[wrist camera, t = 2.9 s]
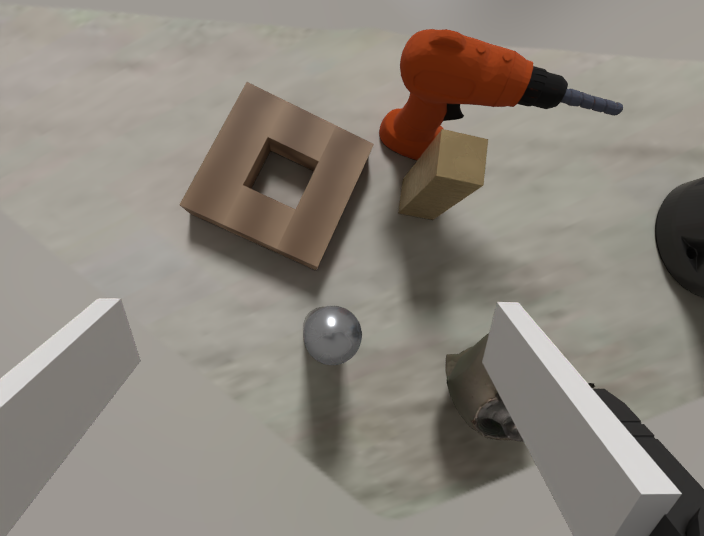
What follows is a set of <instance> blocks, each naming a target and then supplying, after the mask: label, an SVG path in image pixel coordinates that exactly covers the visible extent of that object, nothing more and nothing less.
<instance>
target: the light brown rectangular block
mask: <svg viewBox="0 0 704 536" xmlns="http://www.w3.org/2000/svg"><path fill="white" fill-rule="evenodd" d="M487 145H488V139H484V138H480V137H475V136H471V135H466V134H462V133H457V132H453V131H449V130H444V129H442V130H441V131H440V132H439V133H438V135H437V136H436V137H435V139H434V140H433V141H432V142H431V144H430V145H429V146H428V148H427V149H426V150H425V151H424V153H423V154H422V155H421V157H420V158H419V159H418V160H417V162H416V163H415V164H414V166H413V167H412V168H411V169H410V171H409V172H408V173H407V175H406V176H405V177H404V178H403V182H402V190H401V197H400V204H399V212H398V213H399V214H404V215H409V216H415V217H420V218H425V219H430V220H433V219H435V218H436V217H438V216H439V215H441V214H442V213H444V212H445V211H447V210H448V209H449V208H451V207H452V206H454V205H455V204H457V203H458V202H460V201H461V200H463V199H464V198H466V197H467V196H469V195H470V194H472V193H473V192H474V191H476V190H477V189H479V188H480V187H482V186H483V184H484V174H485V164H486V154H487Z"/></svg>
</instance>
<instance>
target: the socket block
mask: <svg viewBox="0 0 704 536" xmlns="http://www.w3.org/2000/svg"><path fill="white" fill-rule="evenodd" d="M373 145H374V144H372V143H370V142H368V141H366V140H364V139H362V138H360V137H358V136H356V135H354V134H352V133H350V132H348V131H346V130H344V129H342V128H340V127H338V126H336V125H334V124H332V123H330V122H328V121H326V120H324V119H322V118H319V117H317V116H315V115H313V114H311V113H309V112H307V111H305V110H303V109H301V108H299V107H297V106H295V105H293V104H291V103H289V102H287V101H285V100H283V99H281V98H279V97H277V96H275V95H273V94H271V93H269V92H266V91H264V90H262V89H260V88H258V87H256V86H254V85H252V84H250V83H248V82H247V83H246V84H245V86H244V88H243V90H242V92H241V93H240V95H239V97H238V99H237V101H236V103H235V104H234V106H233V108H232V110H231V112H230V114H229V115H228V117H227V119H226V121H225V123H224V124H223V126H222V128H221V130H220V132H219V134H218V135H217V137H216V139H215V141H214V143H213V145H212V146H211V148H210V150H209V152H208V154H207V155H206V157H205V159H204V161H203V163H202V165H201V166H200V168H199V170H198V172H197V174H196V176H195V177H194V179H193V181H192V183H191V185H190V186H189V188H188V190H187V192H186V194H185V196H184V197H183V199H182V201H181V203H180V206H181V207H183V208H184V209H185V210H186V211H187V212H189V213H190V214H192V215H194V216H196V217H198V218H201V219H203V220H205V221H207V222H210V223H212V224H214V225H216V226H218V227H221V228H223V229H225V230H227V231H230V232H232V233H234V234H236V235H238V236H241V237H243V238H245V239H247V240H250V241H252V242H254V243H256V244H258V245H261V246H263V247H265V248H267V249H269V250H272V251H274V252H276V253H278V254H281V255H283V256H285V257H287V258H289V259H292V260H294V261H296V262H298V263H301V264H303V265H305V266H307V267H309V268H312V269H314V270H317V268H318V266H319V264H320V261H321V259H322V257H323V255H324V253H325V251H326V248H327V246H328V244H329V242H330V240H331V237H332V235H333V233H334V231H335V229H336V226H337V224H338V222H339V220H340V218H341V216H342V213H343V211H344V209H345V207H346V205H347V202H348V200H349V198H350V196H351V194H352V191H353V189H354V187H355V185H356V183H357V181H358V178H359V176H360V174H361V172H362V170H363V167H364V165H365V163H366V161H367V159H368V156H369V154H370V152H371V150H372V147H373ZM270 151H273V152H275V153H277V154H279V155H281V156H283V157H285V158H287V159H289V160H291V161H294V162H296V163H298V164H300V165H302V166H304V167H306V168H308V169H310V170H312V171H314V173H313V175H312V177H311V179H310V181H309V183H308V185H307V187H306V189H305V191H304V193H303V195H302V197H301V199H300V202H299V204H298V206H297V208H296V210H295V209H293V208H291V207H289V206H287V205H285V204H282V203H280V202H278V201H276V200H274V199H272V198H270V197H267V196H265V195H263V194H261V193H259V192H257V191H254V190H252V189H251V188H252V186H253V184H254V182H255V180H256V178H257V176H258V174H259V172H260V170H261V168H262V166H263V164H264V162H265V160H266V159H267V157H268V155H269V153H270Z"/></svg>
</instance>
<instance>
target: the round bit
mask: <svg viewBox="0 0 704 536" xmlns="http://www.w3.org/2000/svg"><path fill="white" fill-rule="evenodd" d="M303 331H304V343H305V346H306V348H307V350H308V352H309V354H310V355H311V356H312V357H313V358H314V359H315V360H317V361H319V362H320V363H323V364H327V365H338V364H342V363H344V362H346V361H348V360H349V359H351V358H352V357H353V356H354V355H355V354H356V352H357V351H358V349H359V347H360V344H361V339H362V331H361V327H360V324H359V322H358V320H357V318H356V317H355V316H354V315H353V314H352V313H351V312H350V311H348V310H347V309H345V308H342V307H338V306H327V307H319V308H316V309H314V310H312V311H311V312H310V313H309V314H308V315H307V316H306V318H305V320H304V325H303Z"/></svg>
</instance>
